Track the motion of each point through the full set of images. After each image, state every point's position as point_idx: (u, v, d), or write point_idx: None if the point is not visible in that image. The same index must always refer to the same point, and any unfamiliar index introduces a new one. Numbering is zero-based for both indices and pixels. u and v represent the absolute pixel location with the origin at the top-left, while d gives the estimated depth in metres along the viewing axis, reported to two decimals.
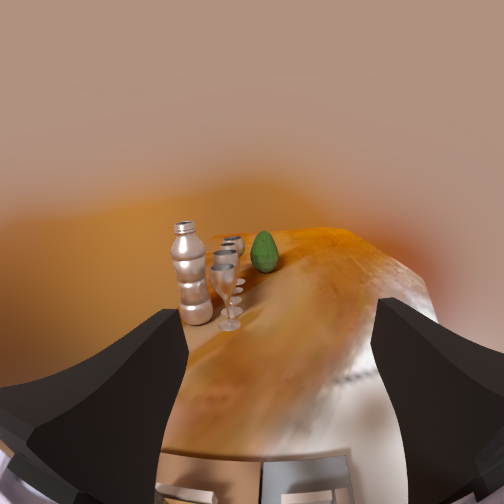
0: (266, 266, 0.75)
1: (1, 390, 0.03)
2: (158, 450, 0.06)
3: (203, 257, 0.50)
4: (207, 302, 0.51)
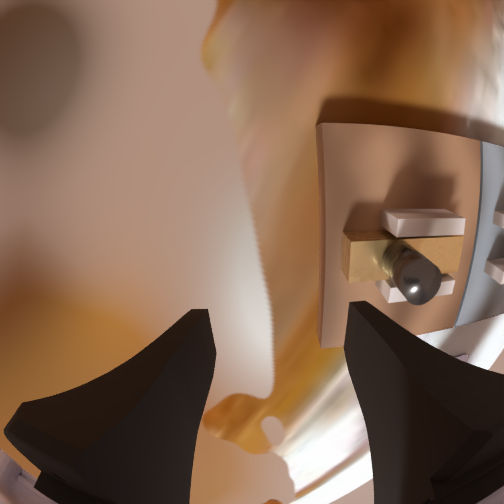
0: None
1: (28, 405, 0.03)
2: (192, 455, 0.06)
3: None
4: None
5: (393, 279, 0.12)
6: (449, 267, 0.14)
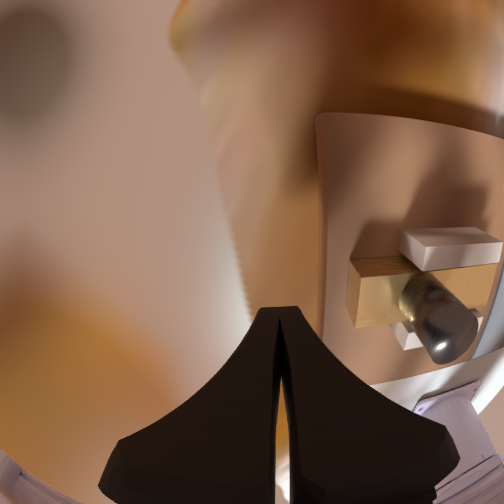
0: None
1: (129, 442, 0.03)
2: (275, 459, 0.06)
3: None
4: None
5: (415, 329, 0.09)
6: (478, 301, 0.10)
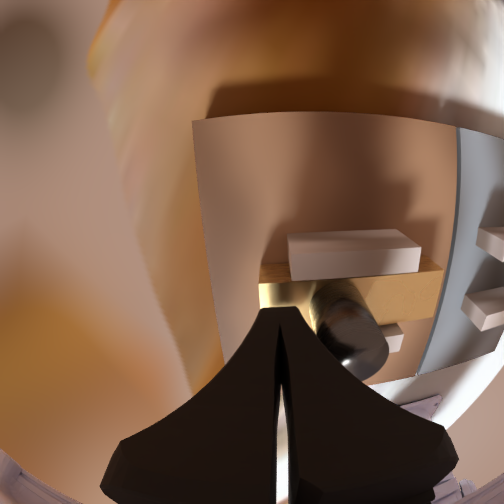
0: None
1: (131, 443, 0.03)
2: (276, 459, 0.06)
3: None
4: None
5: None
6: (420, 312, 0.10)
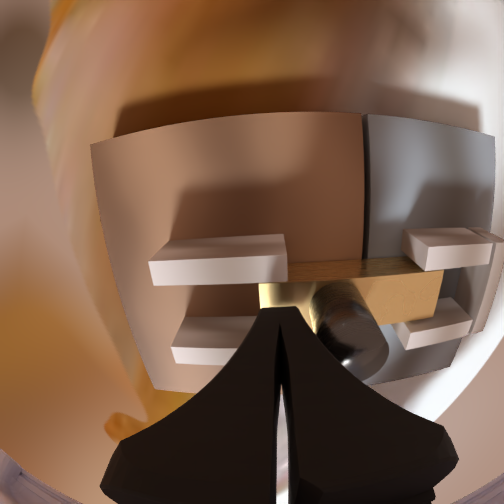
0: None
1: (131, 443, 0.03)
2: (276, 459, 0.06)
3: None
4: None
5: None
6: (420, 312, 0.10)
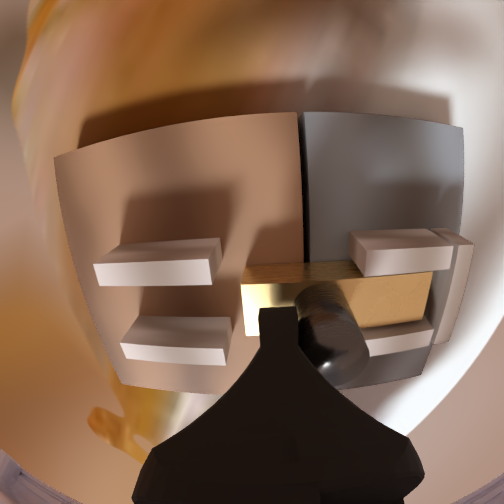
0: None
1: (165, 450, 0.03)
2: None
3: None
4: None
5: None
6: (408, 315, 0.10)
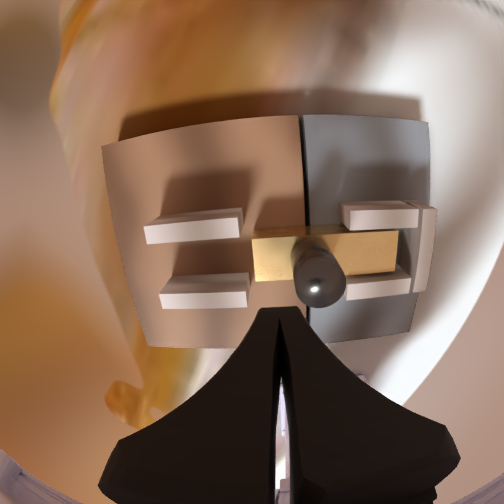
0: None
1: (129, 443, 0.03)
2: None
3: None
4: None
5: (293, 278, 0.13)
6: (382, 266, 0.14)
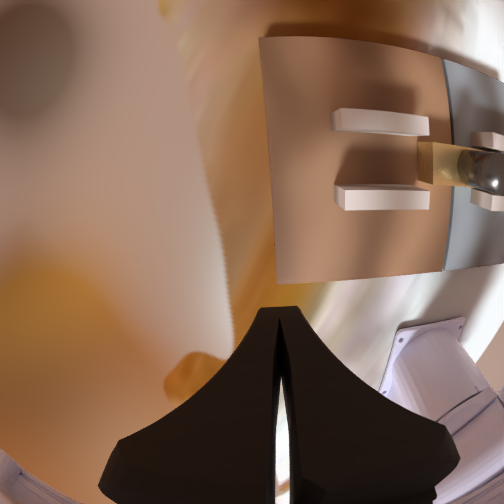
0: None
1: (129, 443, 0.03)
2: (275, 459, 0.06)
3: None
4: None
5: (475, 175, 0.10)
6: None
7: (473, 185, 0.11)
